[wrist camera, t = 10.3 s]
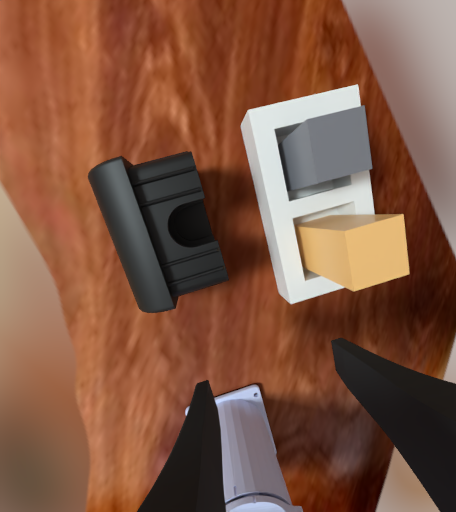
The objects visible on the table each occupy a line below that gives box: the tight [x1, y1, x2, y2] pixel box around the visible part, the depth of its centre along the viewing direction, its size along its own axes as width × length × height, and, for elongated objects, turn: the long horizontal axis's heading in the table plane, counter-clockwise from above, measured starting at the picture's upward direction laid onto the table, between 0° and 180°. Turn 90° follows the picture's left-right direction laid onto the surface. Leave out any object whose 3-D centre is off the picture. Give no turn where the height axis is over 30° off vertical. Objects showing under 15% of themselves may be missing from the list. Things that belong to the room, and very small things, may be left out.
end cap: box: [88, 151, 229, 313], centre depth 17 cm, size 10×7×7 cm
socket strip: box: [241, 85, 375, 304], centre depth 19 cm, size 16×9×6 cm, turn 15°
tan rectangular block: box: [294, 214, 409, 291], centre depth 18 cm, size 4×4×8 cm
